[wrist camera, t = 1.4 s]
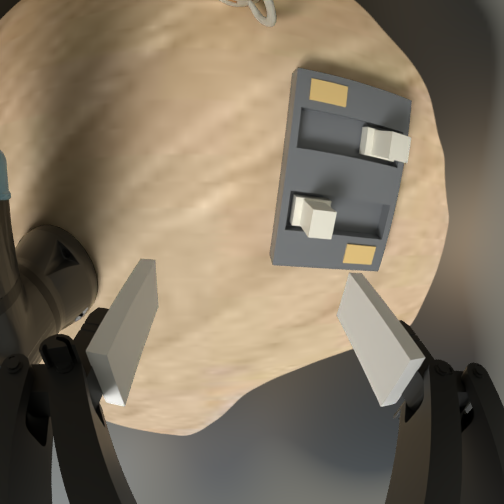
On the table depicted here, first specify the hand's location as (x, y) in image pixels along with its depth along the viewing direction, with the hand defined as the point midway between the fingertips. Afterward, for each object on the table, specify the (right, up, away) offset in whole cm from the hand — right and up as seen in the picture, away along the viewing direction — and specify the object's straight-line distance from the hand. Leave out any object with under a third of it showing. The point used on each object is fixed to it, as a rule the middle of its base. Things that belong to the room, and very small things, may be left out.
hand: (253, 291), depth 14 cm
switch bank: (+10, +11, +17) cm, 23 cm away
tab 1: (+6, +7, +17) cm, 20 cm away
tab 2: (+14, +14, +14) cm, 25 cm away
